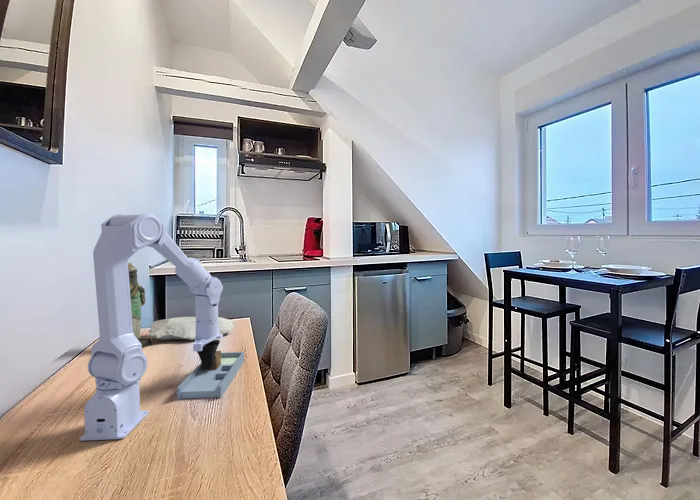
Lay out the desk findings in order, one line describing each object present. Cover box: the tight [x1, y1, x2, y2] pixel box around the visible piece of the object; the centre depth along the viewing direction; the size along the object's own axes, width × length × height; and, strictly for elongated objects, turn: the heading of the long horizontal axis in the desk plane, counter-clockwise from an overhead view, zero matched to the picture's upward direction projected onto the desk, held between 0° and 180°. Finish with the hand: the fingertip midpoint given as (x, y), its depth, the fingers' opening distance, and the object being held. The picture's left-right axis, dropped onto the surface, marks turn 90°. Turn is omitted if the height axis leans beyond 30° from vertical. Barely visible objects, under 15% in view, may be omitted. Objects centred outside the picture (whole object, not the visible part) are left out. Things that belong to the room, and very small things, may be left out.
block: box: [202, 350, 222, 370], centre depth 92 cm, size 4×4×4 cm
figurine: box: [128, 262, 153, 349], centre depth 112 cm, size 10×10×30 cm
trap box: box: [176, 351, 245, 401], centre depth 88 cm, size 23×10×3 cm, turn 5°
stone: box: [148, 316, 234, 341], centre depth 127 cm, size 21×8×30 cm
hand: (207, 368), depth 88 cm, fingers closed
